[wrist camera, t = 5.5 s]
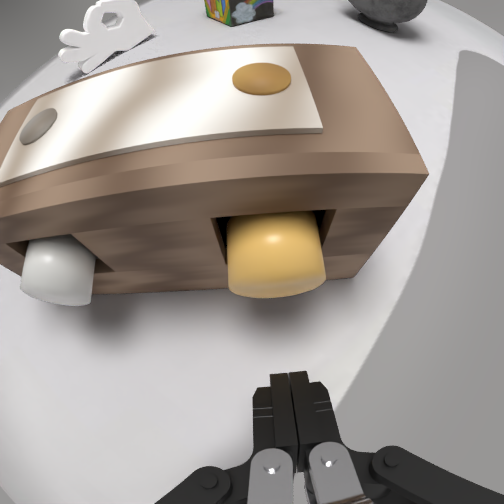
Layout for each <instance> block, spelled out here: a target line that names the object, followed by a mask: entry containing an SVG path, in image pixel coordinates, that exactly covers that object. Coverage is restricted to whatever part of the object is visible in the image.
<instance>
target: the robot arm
mask: <svg viewBox="0 0 504 504" xmlns="http://www.w3.org/2000/svg"><path fill="white" fill-rule="evenodd" d="M253 443H254V449H253V453H252V455H251V457H250V458H249V460H248V461H247V462H245V463H244V464H242V465H240V466H237V467H234V468H230V469H227V470H222V469H220V468H218V467H213V466H206V467H202V468H199V469H197V470H196V471H194V472H193V473H192V474H191V475H190V476H188V477H187V478H186V479H185V480H184V481H183V482H181V483H180V484H179V485H178V486H176V487H175V488H174V489H173V490H171V491H170V492H169V493H168V494H166V495H165V496H164V497H163V498H161V499H160V500H159V501H157V502H156V503H155V504H293V479H294V473H296V465H297V472H304V478H305V485H304V488H305V493H306V497H307V502H308V504H504V495H502V494H500V493H497V492H494V491H492V490H490V489H487V488H484V487H482V486H480V485H477V484H475V483H473V482H470V481H468V480H466V479H464V478H461V477H459V476H457V475H455V474H452V473H450V472H448V471H446V470H444V469H442V468H440V467H438V466H435V465H434V464H432V463H430V462H428V461H426V460H424V459H422V458H420V457H418V456H416V455H414V454H412V453H410V452H408V451H407V450H405V449H403V448H401V447H398V446H386V447H384V448H381V449H380V450H378V451H377V452H376V453H368V452H367V453H366V452H357V451H353V450H351V449H349V448H348V447H346V446H345V445H344V444H343V442H342V440H341V438H340V434H339V430H338V426H337V423H336V419H335V415H334V411H333V408H332V404H331V402H330V397H329V393H328V390H327V389H326V387H325V386H324V385H323V384H322V383H321V382H312V383H309V379H308V374H307V371H300V372H290V373H280V374H270V387H259V388H257V390H256V392H255V394H254V396H253Z"/></svg>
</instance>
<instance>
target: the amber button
mask: <svg viewBox="0 0 504 504" xmlns="http://www.w3.org/2000/svg"><path fill="white" fill-rule="evenodd" d="M227 259H228V285H229V290H230V291H231V292H233V293H235V294H237V295H240V296H245V297H252V298H277V297H285V296H292V295H296V294H300V293H304V292H307V291H310V290H313V289H315V288H317V287H319V286H320V285H322V284H323V283H324V282H325V280H326V274H325V267H324V261H323V255H322V249H321V243H320V237H319V232H318V226H317V221H316V217H315V214H314V213H313V212H312V211H311V210H309V211H293V212H278V213H264V214H251V215H238V216H232V217H231V218H230V219H229V221H228V223H227Z"/></svg>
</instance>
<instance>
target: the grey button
mask: <svg viewBox="0 0 504 504" xmlns="http://www.w3.org/2000/svg"><path fill="white" fill-rule="evenodd" d="M95 261H96V255H95V254H93V253H92V252H91V251H90V250H89V249H88V248H86V247H85V246H84V245H83V244H82V243H81V242H80V241H78V240H77V239H76V238H75V237H74V236H73V235H72V234H65V235H58V236H51V237H44V238H37V239H31V240H29V243H28V247H27V252H26V257H25V261H24V266H23V272H22V277H21V283H20V289H21V290H22V291H23V292H24V293H26V294H27V295H29V296H31V297H33V298H36V299H39V300H42V301H45V302H49V303H54V304H59V305H67V306H82V305H87V304H89V303H90V302H91V295H92V285H93V276H94V268H95Z"/></svg>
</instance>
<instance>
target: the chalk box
mask: <svg viewBox="0 0 504 504" xmlns="http://www.w3.org/2000/svg"><path fill="white" fill-rule="evenodd" d="M204 1H205V7H206V13H207V16H208V17H210V18H213V19H215V20H218V21H220V22H222V23H224V24H227V25H229V26H231V27H233V26H235V25H238V24H242V23H246V22H250V21H254V20H259V19H263V18H268V17H273V16H274V14H273V0H204Z"/></svg>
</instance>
